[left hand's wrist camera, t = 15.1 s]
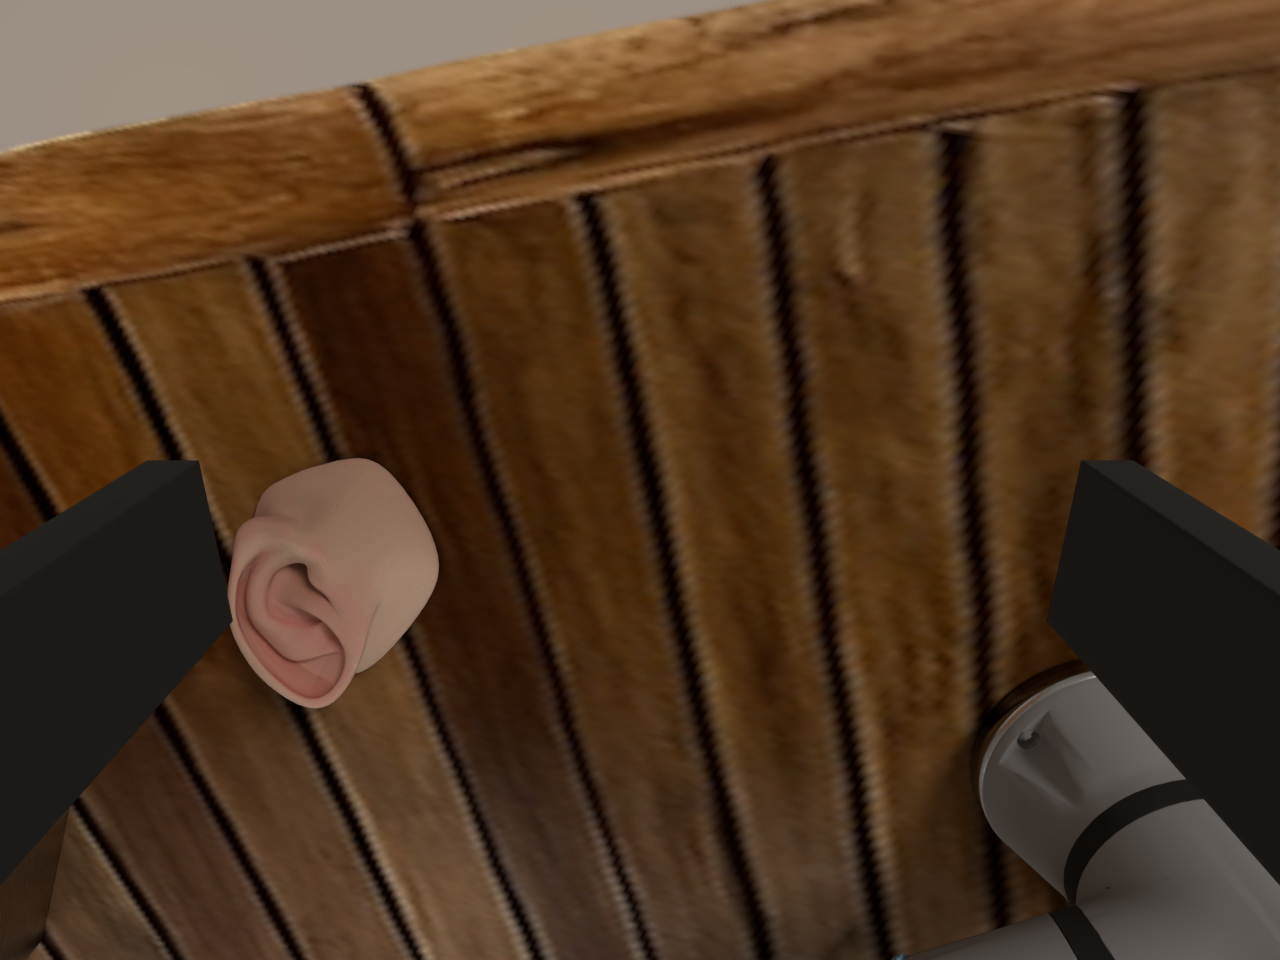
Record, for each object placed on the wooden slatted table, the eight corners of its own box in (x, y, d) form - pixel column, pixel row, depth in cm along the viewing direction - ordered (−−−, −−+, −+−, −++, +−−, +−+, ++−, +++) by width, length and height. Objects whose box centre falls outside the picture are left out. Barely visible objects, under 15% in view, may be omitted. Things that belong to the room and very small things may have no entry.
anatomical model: (307, 446, 40) (477, 598, 43) (335, 421, 43) (490, 563, 46) (146, 604, 43) (315, 735, 46) (185, 569, 47) (339, 692, 50)
